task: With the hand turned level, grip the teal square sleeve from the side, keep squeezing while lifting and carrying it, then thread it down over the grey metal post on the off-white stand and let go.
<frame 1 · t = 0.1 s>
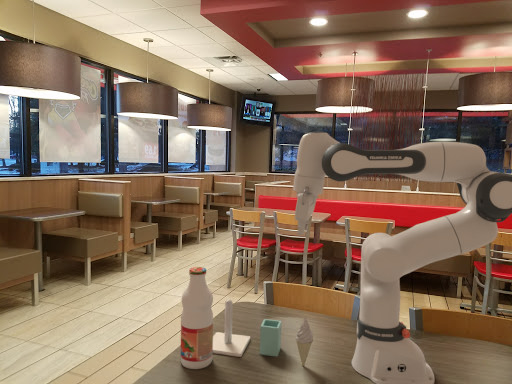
hand: (302, 232, 113), 39 cm above the table, tool pointing down, fingers open, 8 cm apart
sleeve: (270, 351, 119), on the table
fruit juice: (196, 362, 112), on the table
post stand: (227, 345, 122), on the table
ice cream cone: (303, 366, 111), on the table
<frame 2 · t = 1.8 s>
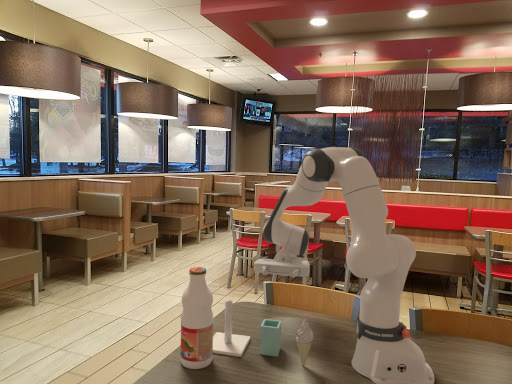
hand: (278, 273, 129), 21 cm above the table, tool horizontal, fingers open, 8 cm apart
nothing on the table moved.
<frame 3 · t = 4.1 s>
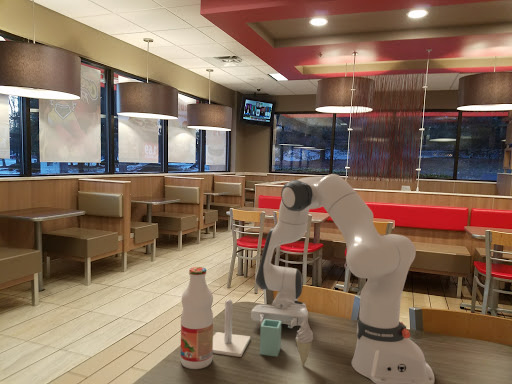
hand: (276, 324, 127), 5 cm above the table, tool horizontal, fingers open, 8 cm apart
nothing on the table moved.
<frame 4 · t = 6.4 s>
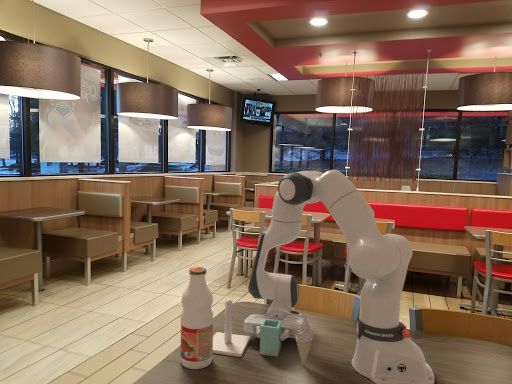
hand: (270, 336, 118), 5 cm above the table, tool horizontal, fingers closed on sleeve, 6 cm apart
sleeve: (270, 351, 119), on the table, touching gripper
everything else where it was.
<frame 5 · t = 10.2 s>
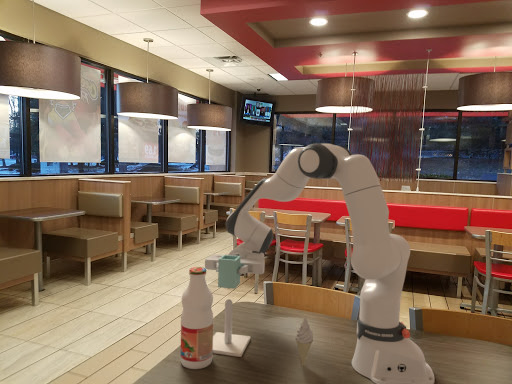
hand: (228, 270, 119), 25 cm above the table, tool horizontal, fingers closed on sleeve, 6 cm apart
sleeve: (229, 285, 121), point 20 cm above the table, touching gripper
everything else where it was.
when the fingers open (7 cm above the table, at t = 13.9 s): sleeve drops 1 cm, resting on post stand.
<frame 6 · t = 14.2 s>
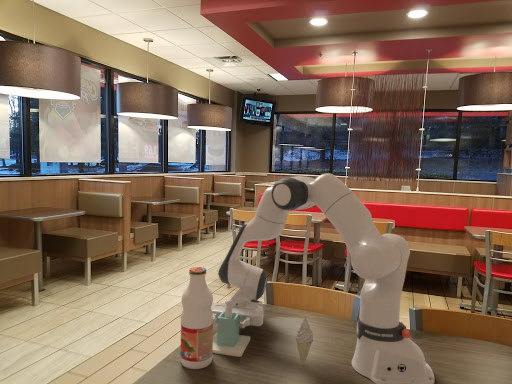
hand: (227, 323, 121), 7 cm above the table, tool horizontal, fingers open, 8 cm apart
sleeve: (228, 342, 122), point 1 cm above the table, touching post stand
everything else where it was.
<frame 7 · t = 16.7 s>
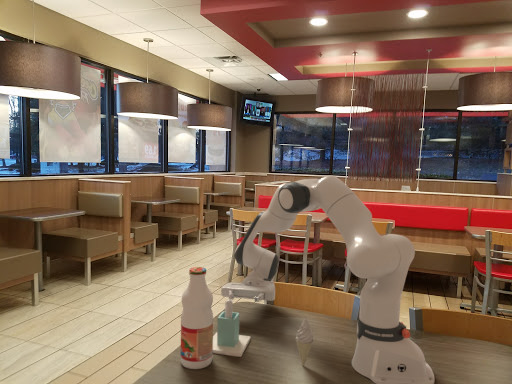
hand: (243, 298, 133), 11 cm above the table, tool horizontal, fingers open, 8 cm apart
nothing on the table moved.
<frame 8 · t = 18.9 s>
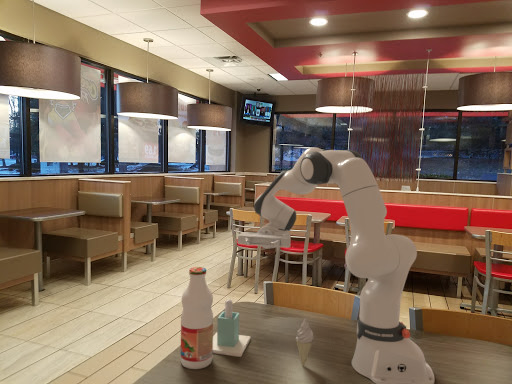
hand: (260, 244, 136), 30 cm above the table, tool horizontal, fingers open, 8 cm apart
nothing on the table moved.
at the end: sleeve 0.0 cm off-centre on the post stand, point 1.0 cm above the post stand's base; sleeve tilted 0°; the gripper is holding nothing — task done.
